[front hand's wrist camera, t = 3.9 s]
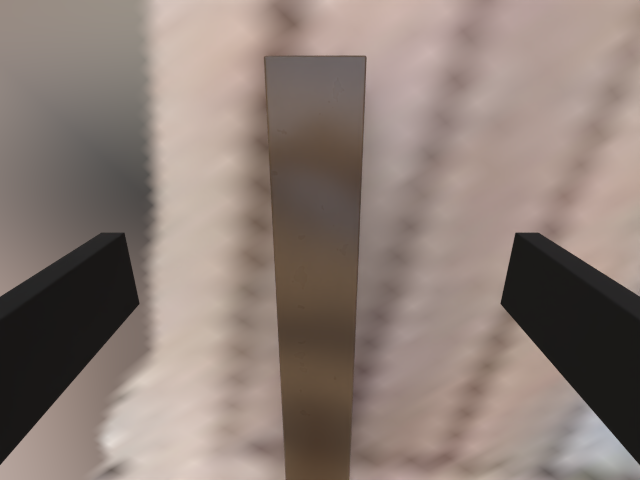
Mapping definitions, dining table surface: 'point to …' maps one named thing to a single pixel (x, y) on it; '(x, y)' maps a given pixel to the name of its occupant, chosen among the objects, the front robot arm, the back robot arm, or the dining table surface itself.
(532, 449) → the dining table surface
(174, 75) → the dining table surface
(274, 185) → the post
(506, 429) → the dining table surface
